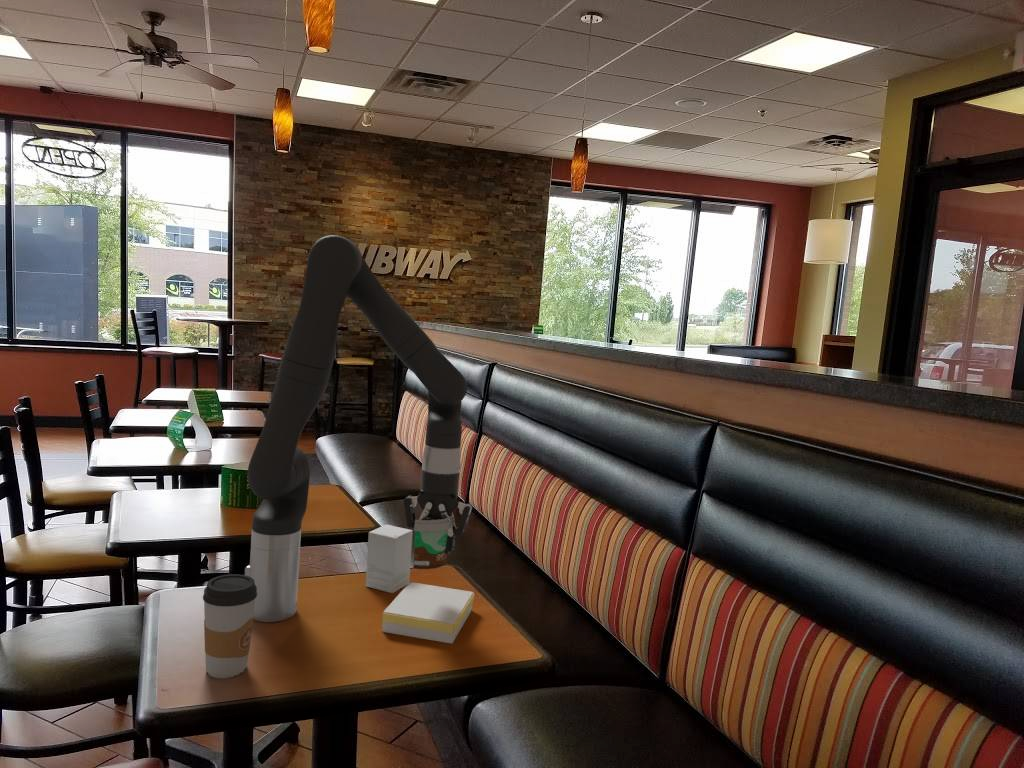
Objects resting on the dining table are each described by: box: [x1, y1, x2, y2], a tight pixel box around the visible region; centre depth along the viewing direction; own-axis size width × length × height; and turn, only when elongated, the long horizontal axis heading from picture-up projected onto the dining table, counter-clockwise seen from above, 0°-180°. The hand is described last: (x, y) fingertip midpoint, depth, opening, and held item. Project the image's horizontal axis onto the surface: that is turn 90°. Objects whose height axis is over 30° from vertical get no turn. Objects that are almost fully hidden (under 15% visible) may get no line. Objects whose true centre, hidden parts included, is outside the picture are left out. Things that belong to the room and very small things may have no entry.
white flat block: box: [381, 581, 475, 645], centre depth 141 cm, size 14×16×4 cm
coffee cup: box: [202, 573, 257, 679], centre depth 116 cm, size 8×8×15 cm
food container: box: [413, 512, 456, 570], centre depth 140 cm, size 12×6×10 cm, turn 169°
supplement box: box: [365, 524, 414, 594], centre depth 157 cm, size 7×7×13 cm
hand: (434, 550), depth 140 cm, fingers closed on food container, 5 cm apart
